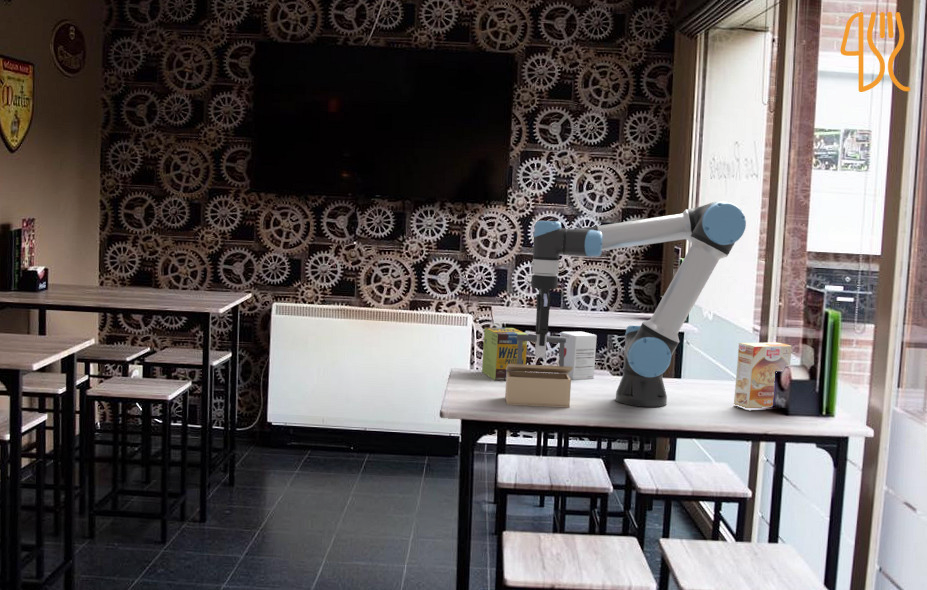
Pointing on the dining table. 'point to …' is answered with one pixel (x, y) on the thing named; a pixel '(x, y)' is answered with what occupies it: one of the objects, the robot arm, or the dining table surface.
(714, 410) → the dining table surface
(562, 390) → the carton
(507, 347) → the protein box
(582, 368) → the supplement box
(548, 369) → the flap
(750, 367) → the coffeecake box
